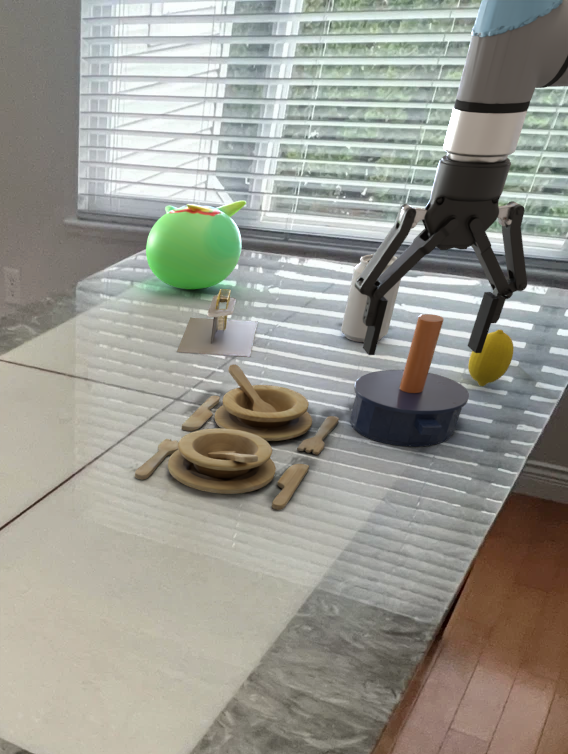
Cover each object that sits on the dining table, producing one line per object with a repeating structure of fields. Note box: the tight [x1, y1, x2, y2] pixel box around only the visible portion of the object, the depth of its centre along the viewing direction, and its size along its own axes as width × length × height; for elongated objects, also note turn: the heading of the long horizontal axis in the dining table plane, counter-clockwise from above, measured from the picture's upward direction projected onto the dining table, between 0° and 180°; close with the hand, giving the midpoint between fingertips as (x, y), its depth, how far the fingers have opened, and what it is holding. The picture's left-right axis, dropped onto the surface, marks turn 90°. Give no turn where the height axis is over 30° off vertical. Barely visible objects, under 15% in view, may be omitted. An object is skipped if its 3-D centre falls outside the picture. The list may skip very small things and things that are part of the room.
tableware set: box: [134, 364, 340, 511], centre depth 110 cm, size 30×20×6 cm, turn 151°
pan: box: [349, 393, 463, 448], centre depth 114 cm, size 13×19×4 cm
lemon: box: [467, 329, 514, 387], centre depth 122 cm, size 6×6×8 cm
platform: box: [176, 288, 258, 358], centre depth 142 cm, size 12×18×7 cm, turn 165°
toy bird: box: [145, 200, 247, 290], centre depth 161 cm, size 18×17×15 cm
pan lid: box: [353, 313, 470, 415], centre depth 110 cm, size 14×14×10 cm
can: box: [340, 253, 402, 343], centre depth 138 cm, size 8×8×12 cm
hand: (421, 350), depth 109 cm, fingers open, 13 cm apart
